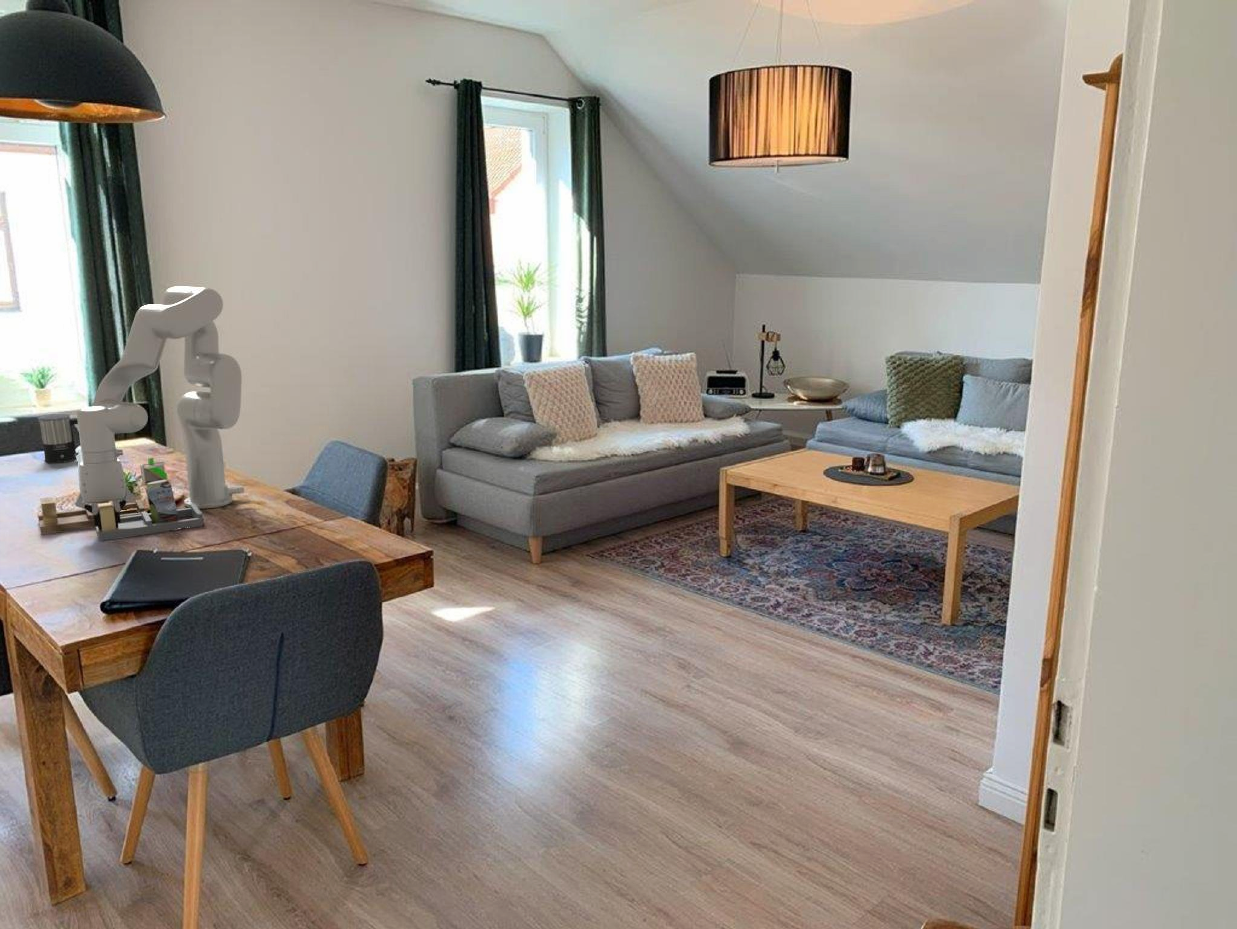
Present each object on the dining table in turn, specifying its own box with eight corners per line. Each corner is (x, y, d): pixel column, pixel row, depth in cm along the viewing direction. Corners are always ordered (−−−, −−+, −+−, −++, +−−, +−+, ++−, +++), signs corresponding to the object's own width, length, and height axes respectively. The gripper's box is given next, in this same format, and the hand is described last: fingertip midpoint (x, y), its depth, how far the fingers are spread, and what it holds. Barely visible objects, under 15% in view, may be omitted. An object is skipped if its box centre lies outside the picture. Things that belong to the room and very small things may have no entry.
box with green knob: (170, 481, 290) (167, 456, 288) (147, 486, 285) (144, 460, 283) (165, 479, 293) (162, 454, 291) (142, 483, 288) (139, 457, 286)
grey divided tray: (195, 514, 256) (193, 489, 254) (204, 525, 246) (201, 499, 245) (95, 528, 243) (92, 501, 242) (99, 540, 234) (96, 513, 232)
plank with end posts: (140, 508, 260) (137, 484, 259) (146, 520, 250) (143, 494, 249) (38, 522, 248) (35, 496, 246) (41, 534, 238) (37, 507, 236)
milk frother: (52, 465, 307) (46, 420, 304) (28, 458, 316) (22, 414, 312) (96, 456, 319) (91, 413, 315) (71, 450, 327) (66, 408, 324)
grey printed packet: (169, 529, 243) (164, 484, 240) (143, 527, 244) (138, 482, 241) (184, 522, 249) (180, 478, 246) (160, 520, 250) (155, 476, 247)
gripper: (134, 449, 242) (141, 518, 247) (60, 457, 234) (69, 528, 238) (138, 455, 236) (145, 526, 241) (62, 463, 228) (72, 536, 232)
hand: (108, 526), depth 239 cm, fingers closed on grey divided tray, 3 cm apart
